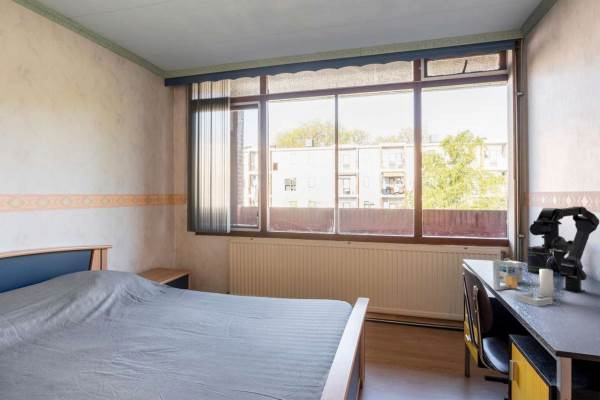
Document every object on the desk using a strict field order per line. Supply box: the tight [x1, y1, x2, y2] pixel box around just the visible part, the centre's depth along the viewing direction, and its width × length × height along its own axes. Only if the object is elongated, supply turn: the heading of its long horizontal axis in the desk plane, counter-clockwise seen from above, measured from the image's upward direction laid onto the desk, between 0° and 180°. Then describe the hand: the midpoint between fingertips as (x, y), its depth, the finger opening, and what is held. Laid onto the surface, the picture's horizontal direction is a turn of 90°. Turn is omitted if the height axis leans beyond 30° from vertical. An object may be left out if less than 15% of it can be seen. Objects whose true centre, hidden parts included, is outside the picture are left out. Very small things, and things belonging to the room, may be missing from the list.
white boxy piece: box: [492, 259, 518, 291], centre depth 159 cm, size 13×13×15 cm
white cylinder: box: [537, 268, 557, 301], centre depth 147 cm, size 7×7×13 cm
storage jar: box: [526, 246, 548, 275], centre depth 195 cm, size 10×10×15 cm
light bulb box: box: [500, 260, 523, 284], centre depth 177 cm, size 11×7×11 cm, turn 105°
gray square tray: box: [516, 292, 554, 307], centre depth 143 cm, size 9×9×2 cm
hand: (552, 266), depth 153 cm, fingers open, 9 cm apart
